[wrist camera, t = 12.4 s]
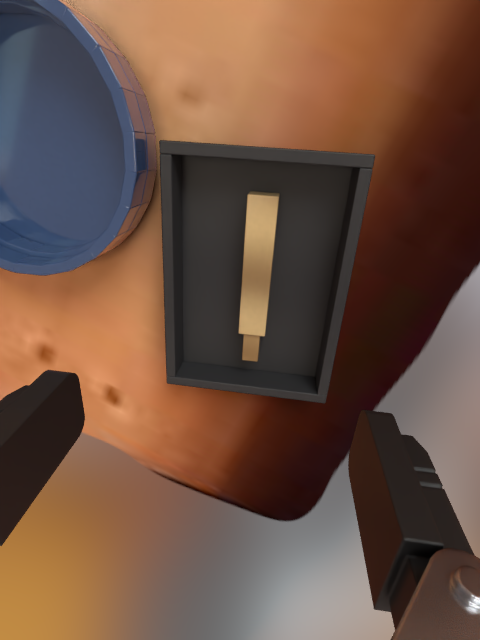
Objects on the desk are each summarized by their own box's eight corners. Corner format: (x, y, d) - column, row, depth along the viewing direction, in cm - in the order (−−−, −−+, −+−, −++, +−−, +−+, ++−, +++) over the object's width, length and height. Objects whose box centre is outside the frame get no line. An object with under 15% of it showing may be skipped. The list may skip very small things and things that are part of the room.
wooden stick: (250, 190, 20) (247, 194, 18) (279, 193, 20) (279, 196, 18) (239, 349, 24) (236, 362, 23) (263, 352, 24) (261, 365, 23)
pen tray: (173, 141, 20) (158, 139, 17) (365, 154, 19) (375, 154, 17) (177, 363, 26) (166, 383, 24) (322, 380, 25) (325, 403, 23)
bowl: (-100, -10, 18) (-181, -43, 15) (154, -2, 17) (124, -35, 14) (-32, 248, 24) (-80, 263, 21) (163, 267, 23) (143, 286, 20)
